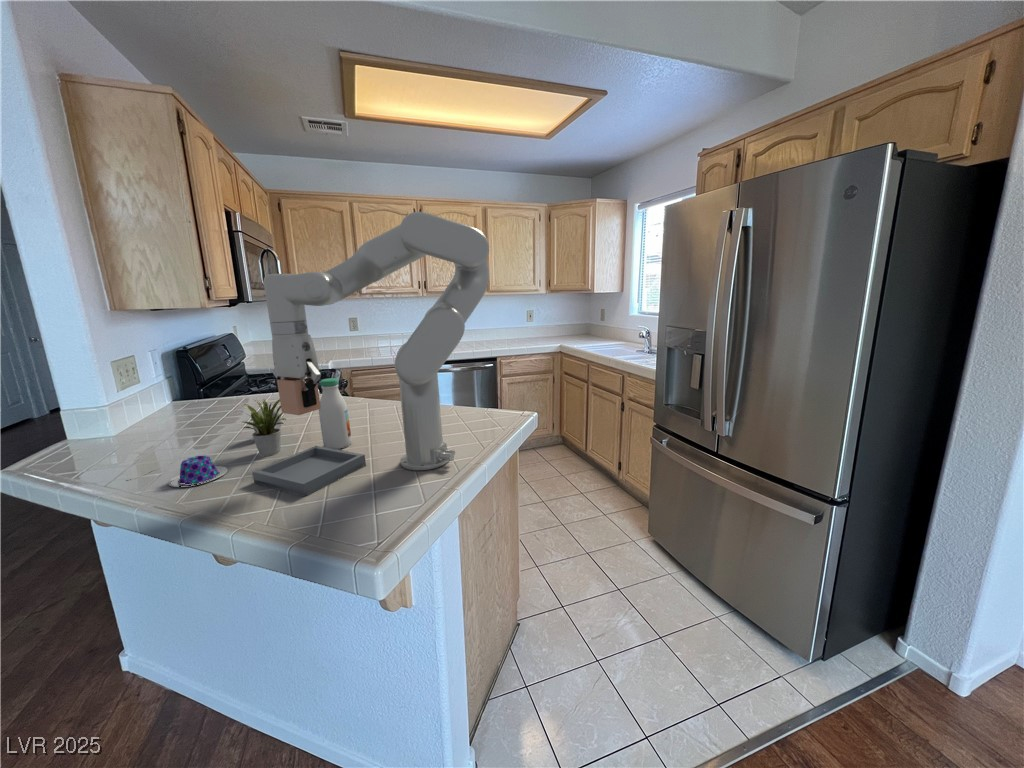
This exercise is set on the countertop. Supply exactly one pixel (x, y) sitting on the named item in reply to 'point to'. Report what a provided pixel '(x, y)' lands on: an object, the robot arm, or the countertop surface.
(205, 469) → the purple dotted hat
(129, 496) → the countertop surface
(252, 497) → the countertop surface
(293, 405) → the open square box
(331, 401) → the milk bottle
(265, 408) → the house plant
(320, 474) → the tray
